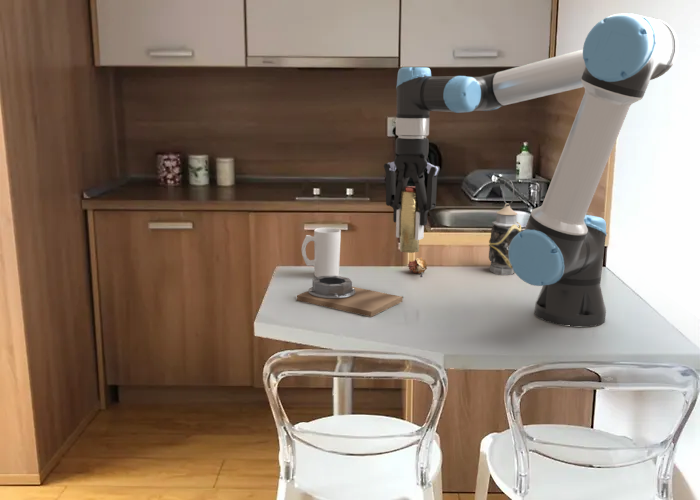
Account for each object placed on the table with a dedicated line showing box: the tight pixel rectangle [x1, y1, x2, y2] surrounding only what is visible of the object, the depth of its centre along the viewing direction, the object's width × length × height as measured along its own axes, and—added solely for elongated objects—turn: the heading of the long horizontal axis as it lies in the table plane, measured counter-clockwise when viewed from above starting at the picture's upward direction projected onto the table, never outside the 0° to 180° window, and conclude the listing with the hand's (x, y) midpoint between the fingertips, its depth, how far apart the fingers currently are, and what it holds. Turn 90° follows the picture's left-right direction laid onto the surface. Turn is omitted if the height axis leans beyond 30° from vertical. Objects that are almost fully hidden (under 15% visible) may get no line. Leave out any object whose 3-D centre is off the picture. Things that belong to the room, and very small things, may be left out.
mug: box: [301, 227, 342, 278], centre depth 197 cm, size 10×7×12 cm, turn 104°
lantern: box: [488, 179, 522, 276], centre depth 205 cm, size 9×8×25 cm
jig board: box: [296, 286, 404, 317], centre depth 178 cm, size 20×14×1 cm
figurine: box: [407, 257, 428, 278], centre depth 202 cm, size 14×5×4 cm, turn 21°
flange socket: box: [307, 275, 356, 299], centre depth 180 cm, size 11×11×3 cm
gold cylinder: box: [399, 185, 420, 254], centre depth 179 cm, size 4×4×15 cm
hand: (409, 237), depth 180 cm, fingers closed on gold cylinder, 4 cm apart
